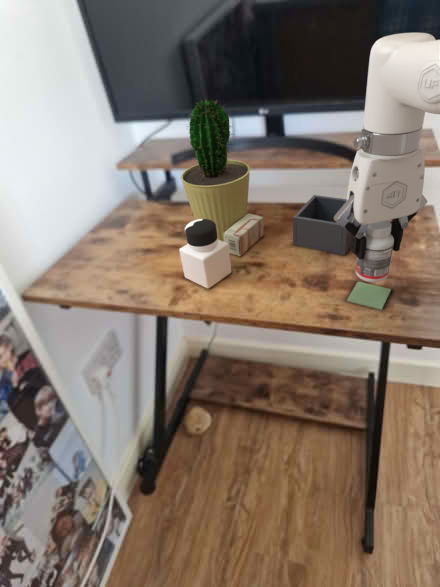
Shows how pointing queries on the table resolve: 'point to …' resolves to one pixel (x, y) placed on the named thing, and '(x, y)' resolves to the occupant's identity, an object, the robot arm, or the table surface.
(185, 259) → the medicine bottle
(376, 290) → the mat
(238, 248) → the small printed carton
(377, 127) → the robot arm
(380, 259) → the pill bottle
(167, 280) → the table surface
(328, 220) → the tub
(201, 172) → the potted cactus
